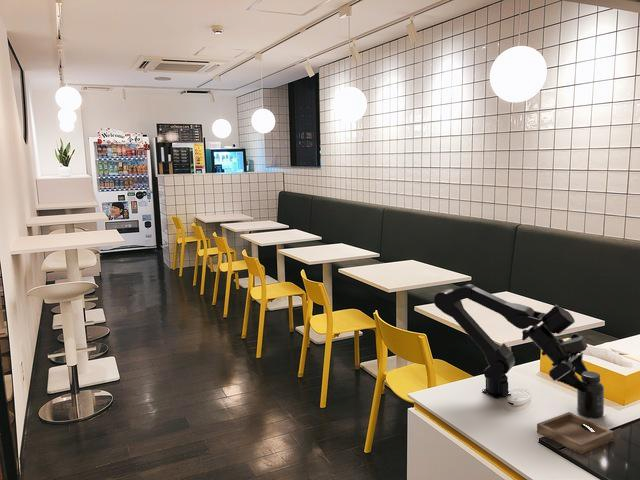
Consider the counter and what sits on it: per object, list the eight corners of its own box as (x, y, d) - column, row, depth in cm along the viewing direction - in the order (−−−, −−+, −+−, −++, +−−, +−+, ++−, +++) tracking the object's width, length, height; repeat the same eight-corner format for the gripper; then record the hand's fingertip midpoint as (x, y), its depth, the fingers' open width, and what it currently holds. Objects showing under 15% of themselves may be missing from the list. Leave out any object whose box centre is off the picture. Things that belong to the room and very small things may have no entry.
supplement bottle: (597, 408, 151) (598, 369, 149) (607, 419, 144) (609, 378, 143) (573, 408, 152) (573, 369, 150) (582, 419, 145) (583, 378, 143)
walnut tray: (536, 432, 139) (537, 423, 138) (568, 420, 144) (569, 411, 144) (580, 454, 127) (580, 445, 127) (613, 440, 133) (613, 431, 133)
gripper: (562, 335, 141) (606, 381, 136) (575, 318, 156) (615, 359, 151) (532, 358, 146) (573, 403, 141) (547, 339, 161) (585, 380, 156)
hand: (588, 385), depth 147 cm, fingers open, 9 cm apart
